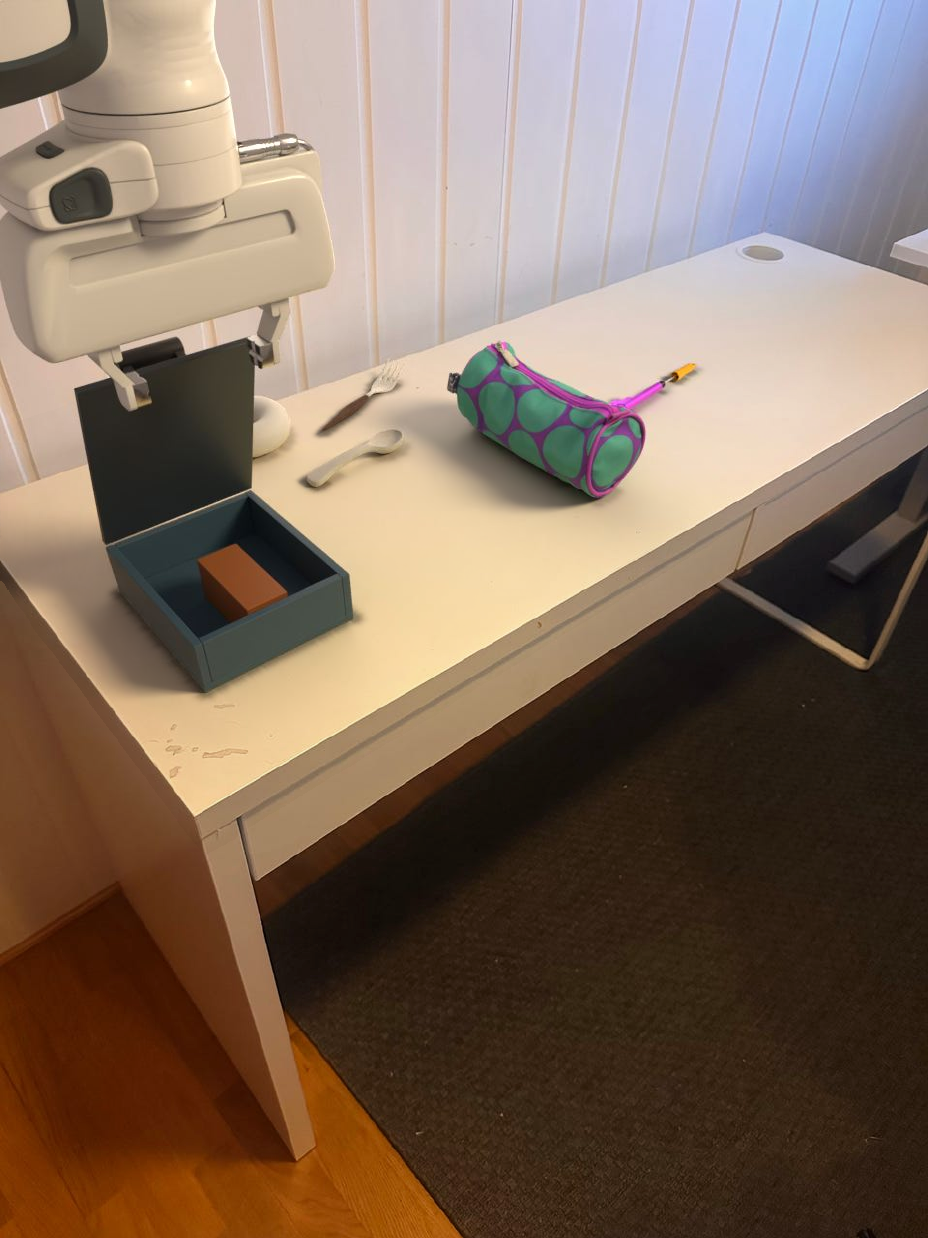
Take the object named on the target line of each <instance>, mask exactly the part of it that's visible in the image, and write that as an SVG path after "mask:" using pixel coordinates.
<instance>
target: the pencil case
mask: <svg viewBox="0 0 928 1238" xmlns="http://www.w3.org/2000/svg"><path fill="white" fill-rule="evenodd" d="M446 390H447V392H449V393H450V394H455V395H456V402H457V407H458V409H459V411H460V414H461V415H462V416H463V417H464V418H465V419H466V420H467V421H468V423H470V424H471V425H472V426H473V427H474V428H476V430H478V431H479V432H481V433H482V435H484V436H486V437H488V438H489V439H490V440H493V441H494V442H496V443H497V444H500V445H501V446H503V447H504V448H506V449H507V450H508V451H510V452H512V453H514V454H515V455H516V456H518V457H519V458H521V459H523V460H524V461H526V462H528V463H530V464H532V465H533V466H536V467H537V468H539V469H540V470H542V471H544V472H546V473H548V474H549V475H552V476H553V477H555V478H558V479H559V480H560V481H561V482H564V483H567V484H569V485H571V486H572V487H574V488H575V489H577V490H581V491H583V492H584V493H585V494H586V495H589V496H590V497H592V498H598V499H599V498H604V497H607V496H608V495H610V494H611V493H612V492H614V490H616V488H617V487H618V486H619V484H620V483H621V482H622V481H623V480H624V479H625V477H627V475H628V474H629V473H630V472H631V471H632V469H633V468H634V466H635V465H636V463H637V462H638V460H639V458H640V456H641V455H642V452H643V450H644V447H645V443H646V437H647V436H646V434H647V433H646V432H647V431H646V425H645V422H644V421H643V419H642V417H641V416H640V415H639V414H638V413H636V412H635V411H634V410H633V409H631V410H629V409H626V408H623V407H619V406H613V405H610V404H609V403H610V402H607V401H605V400H603V399H599V398H595V397H592V396H590V395H588V394H586V393H583V392H582V391H580V390H578V389H576V388H574V387H573V386H570V385H568V384H566V383H564V382H561V381H559V380H556V379H553V378H551V377H549V376H546V375H544V374H543V373H541V372H539V371H537V370H535V369H533V368H532V367H530V366H529V365H527V364H526V363H524V362H523V361H521V360H520V359H519V357H518V356H517V354H516V352H515V349H514V347H513V346H512V345H511V344H510V343H509V342H507V341H501V340H498V341H496V342H495V343H493V342H492V343H490V344H489V345H487V346H485V347H484V348H482V349H481V350H479V351H478V352H476V353H475V354H474V355H472V357H471V358H469V360H468V361H467V363H466V364H465V366H464V368H463V370H462V373H461V374H460V373H459V372H449V374H448V379H447V385H446Z"/></svg>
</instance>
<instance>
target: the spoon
mask: <svg viewBox="0 0 928 1238" xmlns="http://www.w3.org/2000/svg"><path fill="white" fill-rule="evenodd" d="M404 436H405V435H404V433H403V432H402V431H401V430H399V429H393V428H392V429H391V428H390V429H385V430H383V431H380V432H378V433H376V434H374V435H373V436H372V437H371V438H370V440H369V441H367V442H365V443H362V444H360V445H357V446H355V447H353V448H351V449H348V450H346V451H343V452H342V453H340V454H339V455H337V456H335V457H334V458H332V459H330V460H329V461H327V462H326V463H323V464H322V465H321V466H318V467H317V468H315V469H313V470H312V471H310V472H309V473H307V475H306V481H307V483H308V484H309V485H310V486H311V487H313V488H318V487H321V486H322V485H323V484H325V482H327V481H328V480H329V479H331V477H332V476H334V474H336V473H337V472H338V471H340V470H341V469H342V468H344V467H345V466H346V465H347V464H349V463H351V462H352V461H354V460H355V459H357V458H359V457H360V456H362V455H364V454H367V453H378V454H383V455H384V454H389V453H392V452H394V451H396V450H397V449H399V448H400V447H401V446H402V445H403V443H404V440H405V437H404Z"/></svg>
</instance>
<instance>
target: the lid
mask: <svg viewBox="0 0 928 1238" xmlns="http://www.w3.org/2000/svg"><path fill="white" fill-rule="evenodd" d="M250 336H251V335H249V336H246V337H241V338H239V339H236V340H233V341H229V342H225V343H221V344H218V345H215V346H212V347H208V348H205V349H201V350H198V351H194V352H191V353H188V354H187V353H186V351H185V347H184V345H183V342H182V341H181V339H180V338H179V336H172V337H168V338H165V339H160V340H158V341H155V342H150V343H148V344H144V345H140V346H136V347H134V348H129V349H127V350H121V354H122V358H123V360H122V361H121V362H118V363H115V362H114V365H115V366H116V367H117V368H118V369H120V370H121V371H122V372H123V373H124V374H126V373H130V372H134V371H135V372H136V373H137V374H139V376H140V377H142V378H143V379H145V380H146V381H147V385H148V389H149V392H148V395H149V396H150V397H151V401H152V403H151V405H148V406H145V407H142V408H139V409H136V410H133V411H128V410H127V409H126V408H125V407H124V406H122V404H121V402H120V400H119V398H118V395H117V391H116V388H115V384H114V380H113V379H112V378H110V377H107V378H104V379H101V380H97V381H94V382H90V383H87V384H84V385H80V386H77V387H74V389H73V392H74V396H75V402H76V407H77V408H76V409H77V413H78V418H79V423H80V429H81V435H82V440H83V444H84V450H85V455H86V456H85V457H86V461H87V466H88V472H89V477H90V482H91V488H92V492H93V498H94V502H95V508H96V514H97V519H98V525H99V530H100V536H101V539H102V540H101V541H102V542H103V544H104V545H105V546H109V545H112V544H114V543H117V542H119V541H122V540H124V539H127V538H129V537H132V536H135V535H137V534H140V533H142V532H145V531H147V530H150V529H152V528H155V527H158V526H160V525H163V524H165V523H168V522H170V521H173V520H175V519H178V518H181V517H183V516H186V515H188V514H191V513H193V512H196V511H199V510H201V509H204V508H206V507H209V506H211V505H214V504H216V503H219V502H222V501H224V500H227V499H229V498H232V497H234V496H237V495H239V494H242V493H244V492H247V491H249V490H252V489H253V460H254V457H253V421H254V395H255V382H256V381H255V377H256V376H255V375H256V365H254V364H253V363H252V362H251V360H250V357H249V352H250V349H249V348H248V345H247V337H250Z"/></svg>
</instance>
